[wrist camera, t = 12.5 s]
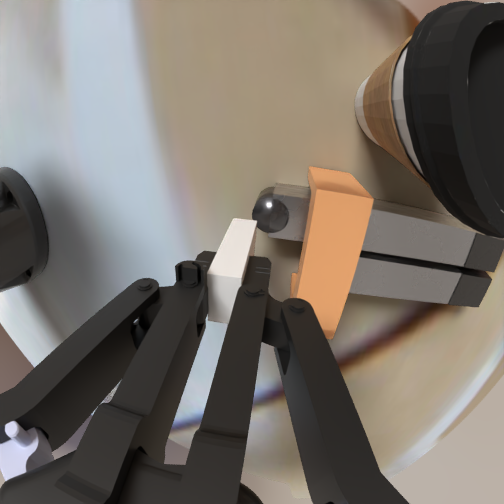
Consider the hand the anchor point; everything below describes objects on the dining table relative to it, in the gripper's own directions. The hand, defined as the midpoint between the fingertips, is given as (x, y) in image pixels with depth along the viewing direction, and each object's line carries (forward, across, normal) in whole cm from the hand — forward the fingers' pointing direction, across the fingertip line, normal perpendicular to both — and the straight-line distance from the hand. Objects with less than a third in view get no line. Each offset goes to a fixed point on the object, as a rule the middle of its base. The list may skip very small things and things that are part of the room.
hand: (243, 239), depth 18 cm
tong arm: (+3, +13, -2) cm, 14 cm away
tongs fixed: (+4, +11, +1) cm, 12 cm away
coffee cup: (+4, +10, +10) cm, 14 cm away
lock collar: (+4, +5, 0) cm, 7 cm away
